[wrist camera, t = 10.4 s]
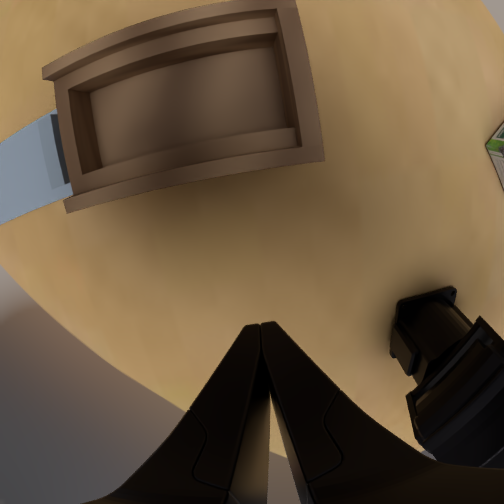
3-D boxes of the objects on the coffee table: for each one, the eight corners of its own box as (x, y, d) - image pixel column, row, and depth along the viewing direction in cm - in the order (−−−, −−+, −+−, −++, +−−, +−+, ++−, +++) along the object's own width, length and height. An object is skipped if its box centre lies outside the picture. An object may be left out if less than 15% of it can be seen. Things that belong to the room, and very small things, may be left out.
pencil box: (282, 24, 14) (294, -5, 10) (305, 154, 17) (325, 161, 13) (79, 76, 15) (42, 67, 10) (101, 195, 18) (66, 213, 14)
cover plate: (83, 98, 16) (58, 96, 13) (101, 184, 18) (79, 194, 15) (-13, 155, 16) (-37, 161, 13) (3, 222, 19) (-18, 235, 16)
